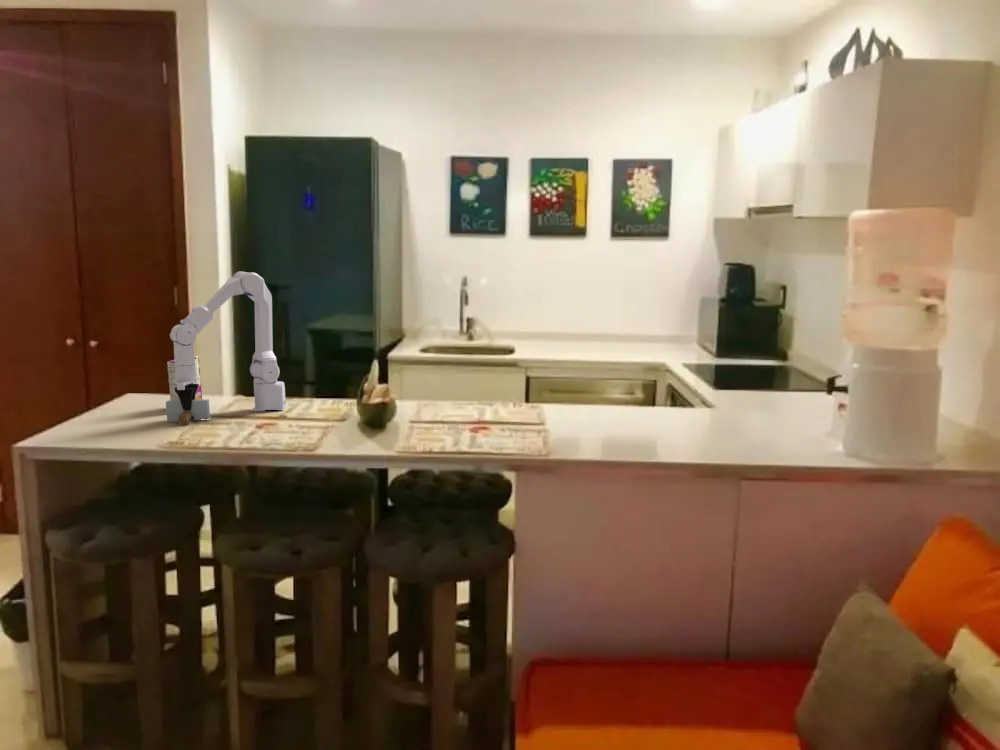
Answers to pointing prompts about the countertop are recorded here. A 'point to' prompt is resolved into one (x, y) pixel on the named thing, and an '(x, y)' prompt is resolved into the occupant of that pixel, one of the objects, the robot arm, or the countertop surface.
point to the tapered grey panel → (197, 410)
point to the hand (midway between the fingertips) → (188, 409)
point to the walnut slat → (185, 418)
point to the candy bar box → (173, 376)
